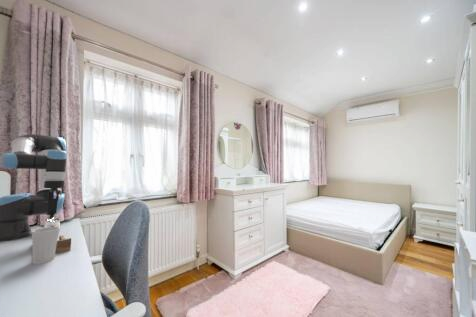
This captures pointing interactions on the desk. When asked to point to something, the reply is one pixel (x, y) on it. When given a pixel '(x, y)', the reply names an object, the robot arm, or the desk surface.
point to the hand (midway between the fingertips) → (50, 227)
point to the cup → (44, 244)
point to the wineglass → (52, 222)
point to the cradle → (63, 244)
